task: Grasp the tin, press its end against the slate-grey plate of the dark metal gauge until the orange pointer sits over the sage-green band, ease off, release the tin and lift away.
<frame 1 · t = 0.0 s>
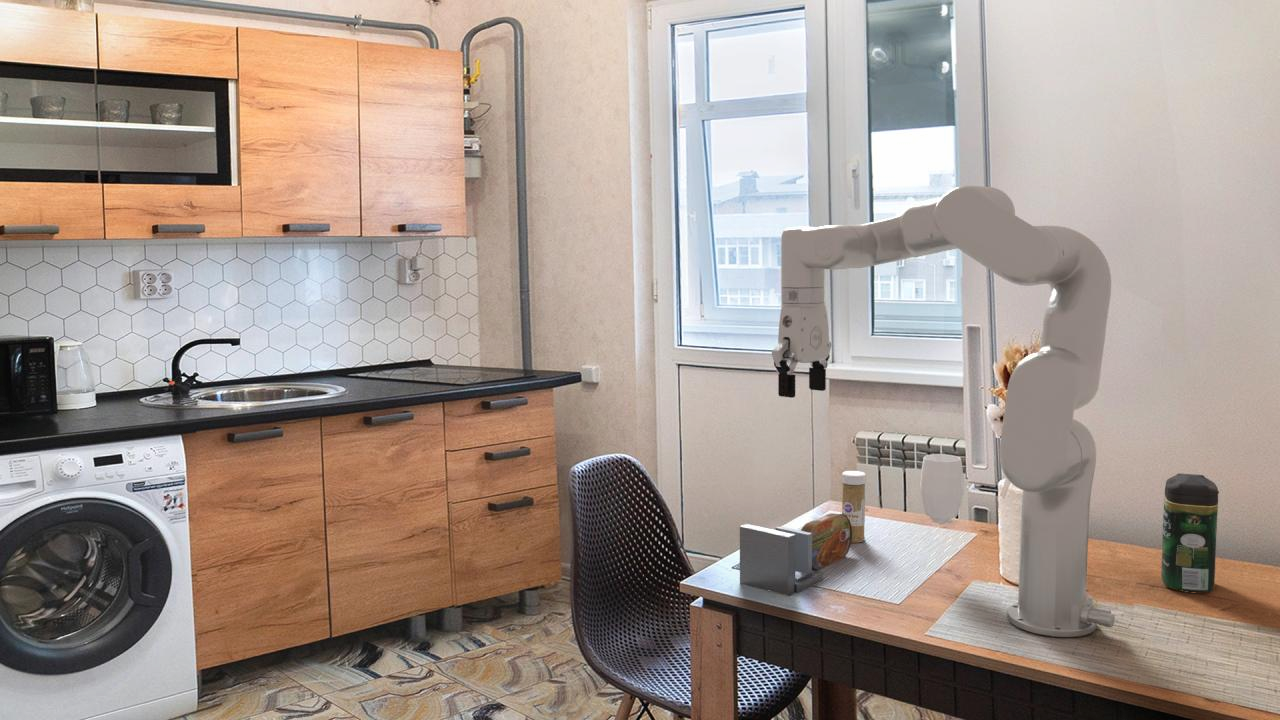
hand: (802, 393, 182), 31 cm above the table, fingers open, 9 cm apart
coffee jar: (1186, 586, 170), on the table
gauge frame: (780, 581, 175), on the table
sprinkles bottle: (853, 541, 198), on the table
gauge carriage: (788, 548, 178), point 5 cm above the table, slide at 0.0 cm
cup: (939, 575, 178), on the table
tin: (824, 563, 185), on the table
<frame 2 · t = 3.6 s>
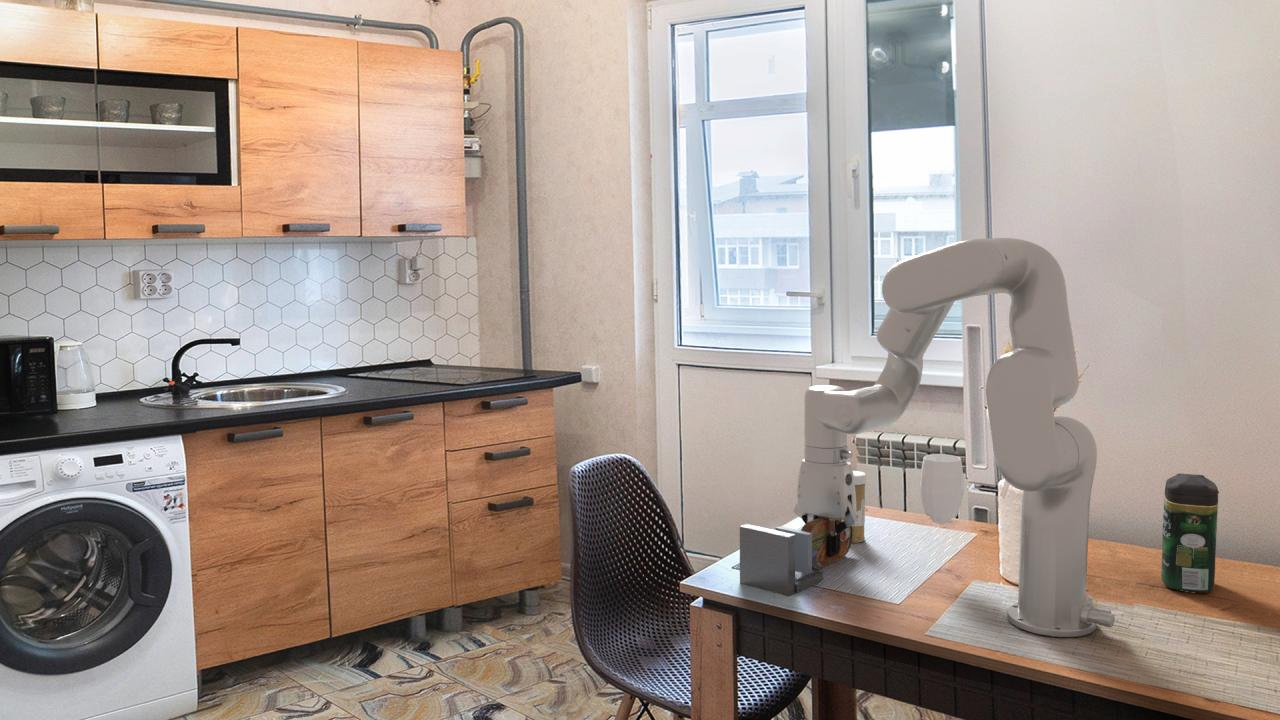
hand: (825, 552, 185), 2 cm above the table, fingers closed on tin, 2 cm apart
tin: (824, 562, 186), on the table, touching gripper
everything else where it was.
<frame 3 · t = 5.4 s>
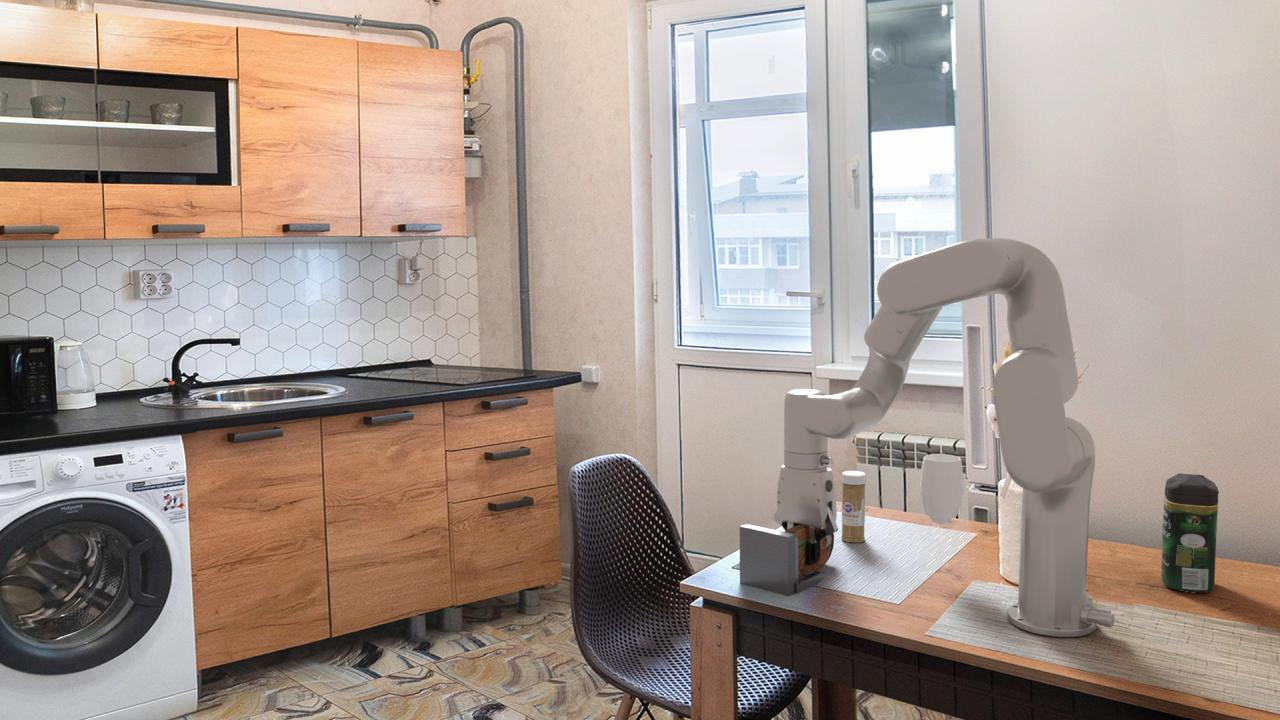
hand: (804, 560, 181), 2 cm above the table, fingers closed on tin, 2 cm apart
gauge carriage: (774, 554, 175), point 5 cm above the table, slide at 4.2 cm, touching tin
tin: (803, 570, 181), on the table, touching gauge carriage, gripper
everything else where it was.
when the fingers open (2 cm above the table, at t = 7.1 s): tin stays where it is, on the table.
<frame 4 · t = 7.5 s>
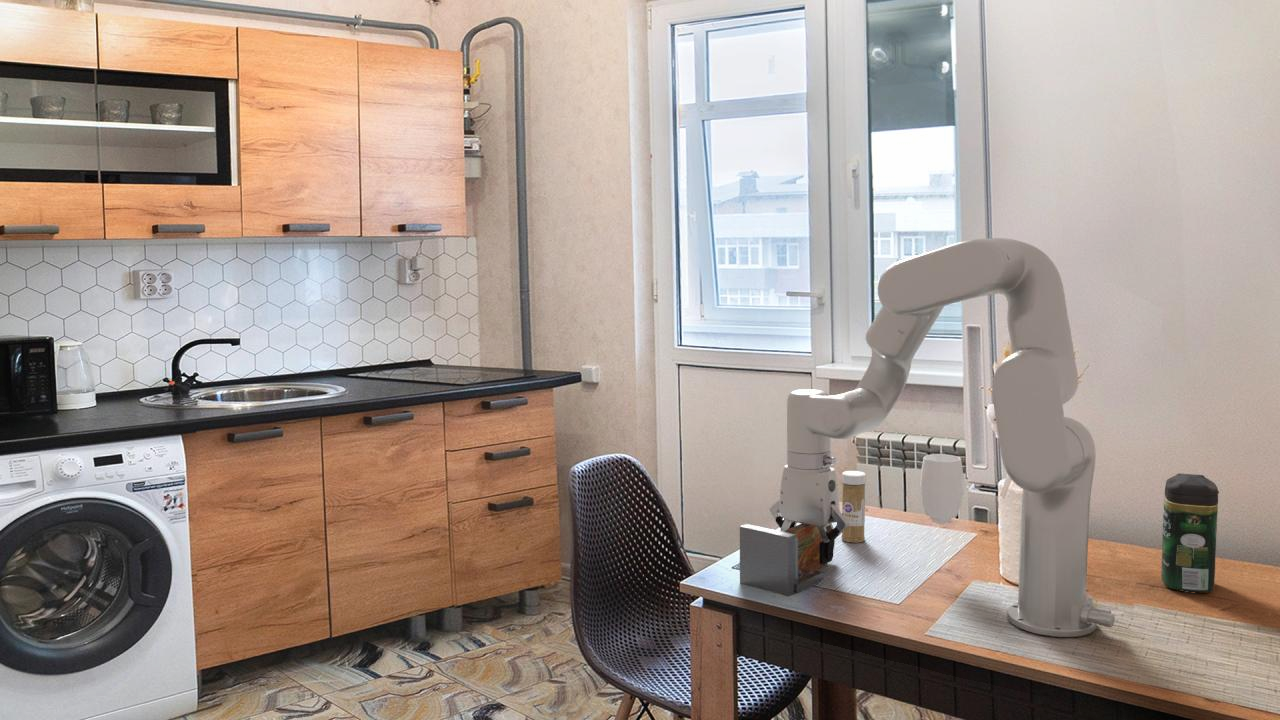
hand: (808, 557, 181), 2 cm above the table, fingers open, 6 cm apart
gauge carriage: (774, 554, 175), point 5 cm above the table, slide at 4.3 cm
tin: (806, 570, 182), on the table
everything else where it was.
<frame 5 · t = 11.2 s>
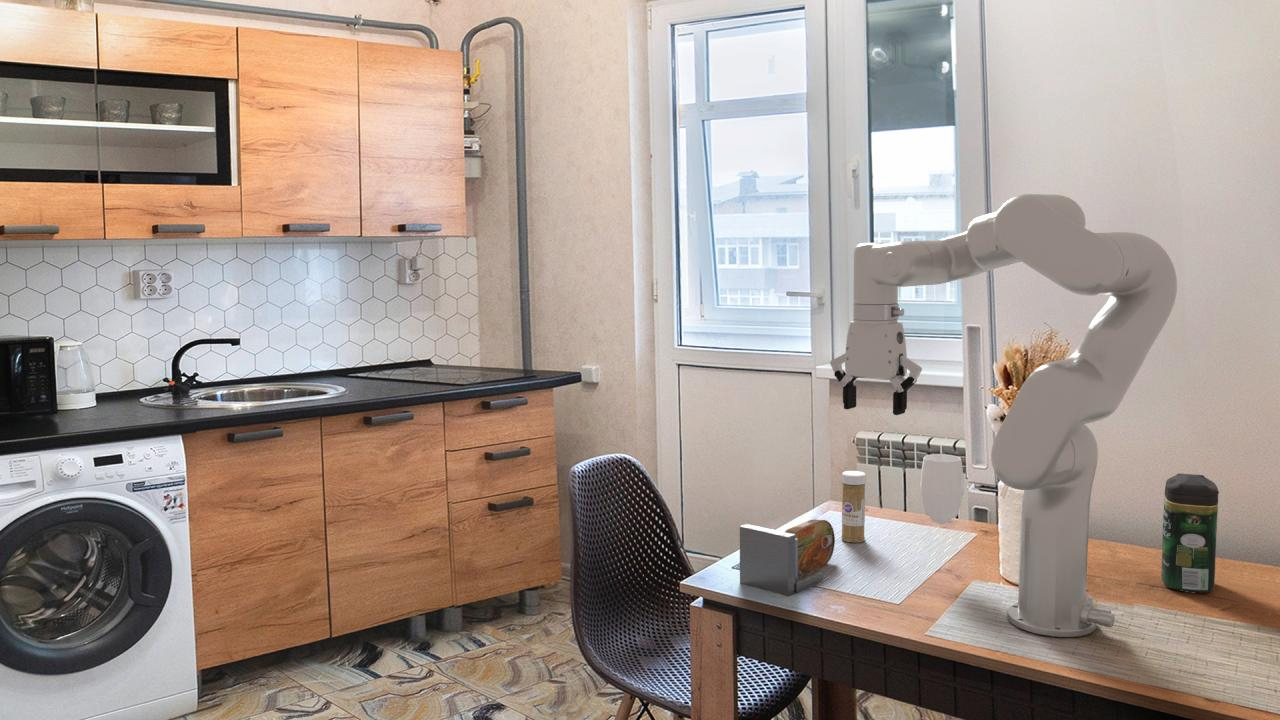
hand: (874, 411, 179), 28 cm above the table, fingers open, 9 cm apart
nothing on the table moved.
at the end: gauge carriage slide at 4.3 cm; the gripper is holding nothing; tin tilted 0° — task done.
